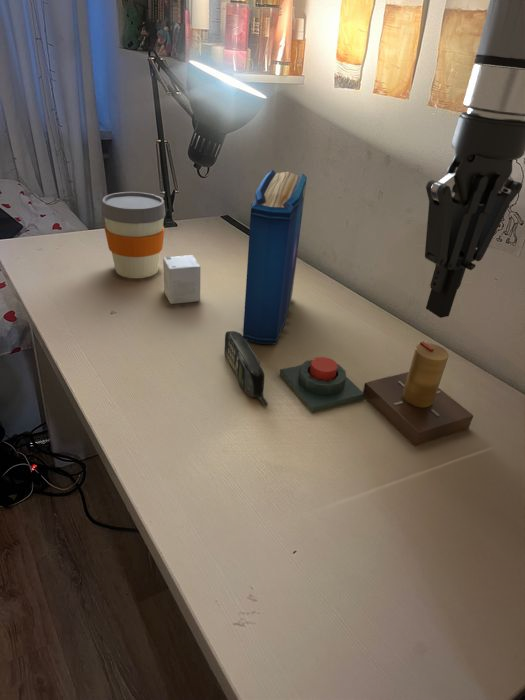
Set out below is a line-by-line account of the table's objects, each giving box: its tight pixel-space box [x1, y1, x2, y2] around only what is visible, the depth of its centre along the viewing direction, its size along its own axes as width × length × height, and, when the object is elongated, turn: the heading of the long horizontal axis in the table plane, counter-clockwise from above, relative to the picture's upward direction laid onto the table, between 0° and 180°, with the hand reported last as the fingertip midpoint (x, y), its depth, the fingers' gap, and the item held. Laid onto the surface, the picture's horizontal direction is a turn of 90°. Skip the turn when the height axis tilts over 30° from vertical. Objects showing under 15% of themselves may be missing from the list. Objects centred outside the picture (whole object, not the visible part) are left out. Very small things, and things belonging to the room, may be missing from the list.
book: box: [242, 169, 308, 345], centre depth 88 cm, size 22×7×25 cm, turn 171°
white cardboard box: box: [162, 254, 201, 305], centre depth 98 cm, size 6×6×7 cm
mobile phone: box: [224, 330, 269, 407], centre depth 76 cm, size 5×3×15 cm
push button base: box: [278, 359, 365, 414], centre depth 77 cm, size 9×10×3 cm
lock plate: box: [362, 371, 474, 447], centre depth 74 cm, size 10×12×3 cm
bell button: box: [310, 356, 338, 381], centre depth 76 cm, size 4×4×2 cm
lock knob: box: [403, 341, 450, 407], centre depth 71 cm, size 4×4×8 cm
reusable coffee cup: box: [101, 191, 167, 279], centre depth 105 cm, size 13×12×15 cm
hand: (437, 312), depth 66 cm, fingers closed
